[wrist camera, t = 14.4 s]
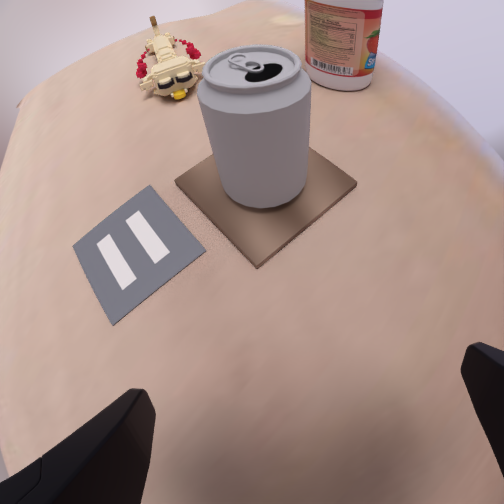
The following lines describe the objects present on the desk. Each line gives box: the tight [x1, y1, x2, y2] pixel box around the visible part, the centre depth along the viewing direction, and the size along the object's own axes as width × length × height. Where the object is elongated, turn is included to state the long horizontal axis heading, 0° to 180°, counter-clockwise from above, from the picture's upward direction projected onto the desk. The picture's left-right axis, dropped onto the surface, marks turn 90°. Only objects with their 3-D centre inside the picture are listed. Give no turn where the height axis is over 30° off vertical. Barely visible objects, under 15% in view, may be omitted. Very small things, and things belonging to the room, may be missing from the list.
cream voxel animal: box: [136, 16, 205, 99], centre depth 37 cm, size 10×9×25 cm
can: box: [197, 45, 311, 208], centre depth 21 cm, size 8×8×12 cm
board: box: [174, 147, 357, 269], centre depth 27 cm, size 12×12×1 cm
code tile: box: [73, 185, 206, 326], centre depth 25 cm, size 10×10×1 cm
